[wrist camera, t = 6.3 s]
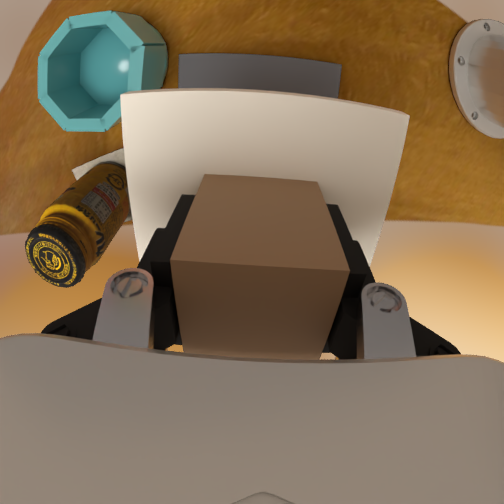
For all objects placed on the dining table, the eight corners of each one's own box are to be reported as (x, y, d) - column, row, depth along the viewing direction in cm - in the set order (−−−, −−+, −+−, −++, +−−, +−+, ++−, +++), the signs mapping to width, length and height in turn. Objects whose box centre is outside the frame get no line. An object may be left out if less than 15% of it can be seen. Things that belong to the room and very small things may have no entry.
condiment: (72, 169, 27) (2, 233, 17) (142, 140, 26) (78, 199, 16) (101, 228, 31) (50, 306, 21) (169, 208, 30) (130, 292, 20)
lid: (400, 111, 10) (495, 169, 5) (347, 307, 16) (370, 406, 11) (129, 91, 10) (31, 134, 5) (153, 296, 16) (121, 393, 11)
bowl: (174, 15, 19) (149, 7, 14) (163, 114, 24) (139, 133, 20) (80, 22, 19) (40, 23, 14) (76, 112, 24) (39, 131, 19)
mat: (340, 64, 22) (341, 64, 21) (320, 202, 29) (321, 204, 29) (180, 54, 21) (179, 54, 21) (182, 193, 29) (180, 196, 28)
